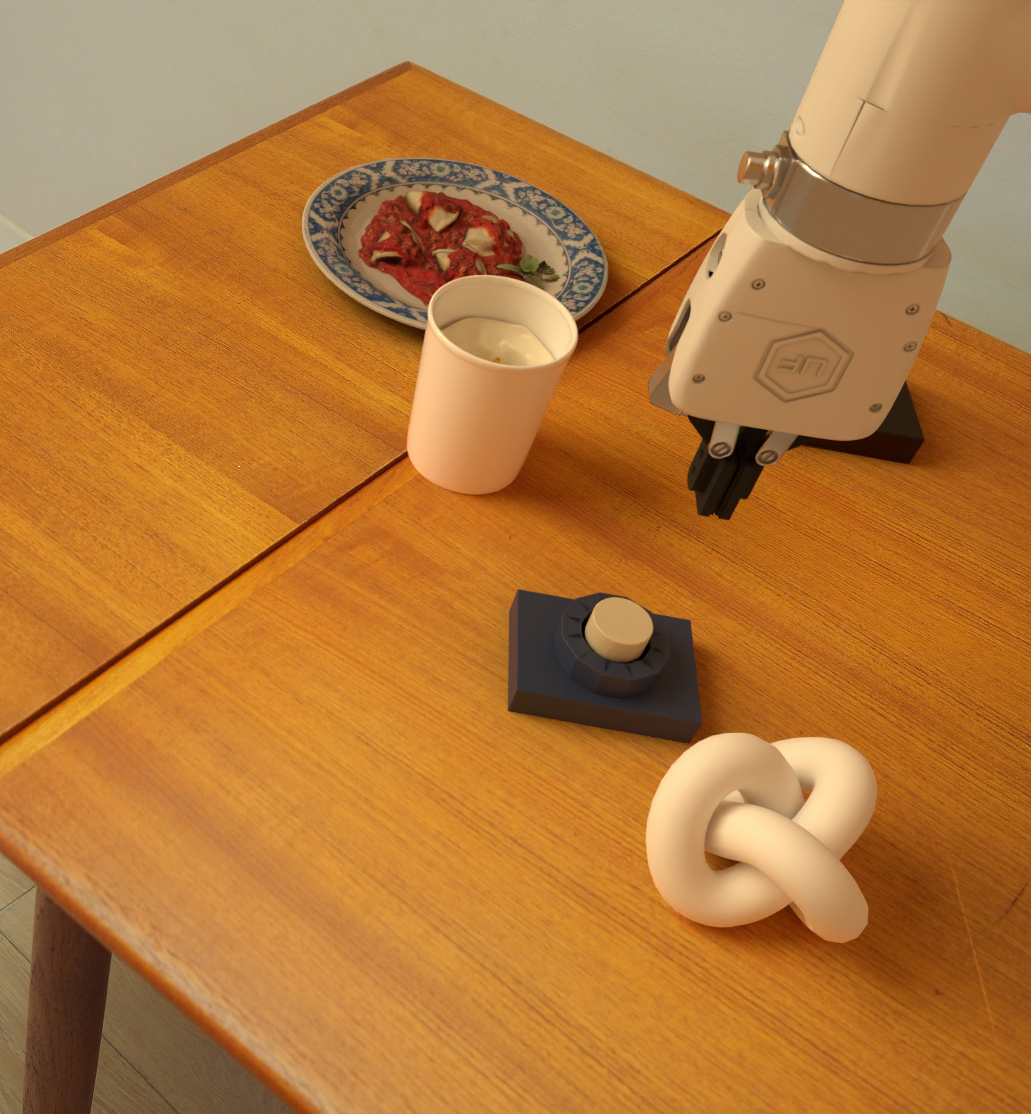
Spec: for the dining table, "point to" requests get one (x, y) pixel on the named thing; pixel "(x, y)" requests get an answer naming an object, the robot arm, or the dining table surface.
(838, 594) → the dining table surface
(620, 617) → the bell button
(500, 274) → the ceramic plate
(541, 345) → the candle holder
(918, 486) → the dining table surface
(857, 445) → the black dial base
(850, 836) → the white knot sculpture
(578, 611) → the push button box
